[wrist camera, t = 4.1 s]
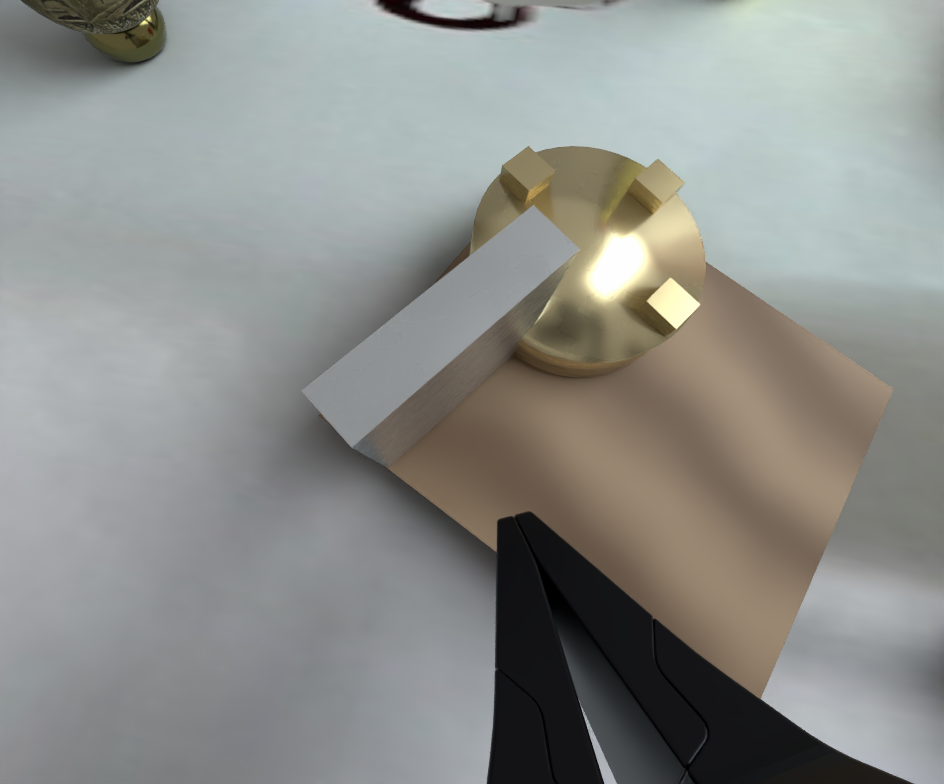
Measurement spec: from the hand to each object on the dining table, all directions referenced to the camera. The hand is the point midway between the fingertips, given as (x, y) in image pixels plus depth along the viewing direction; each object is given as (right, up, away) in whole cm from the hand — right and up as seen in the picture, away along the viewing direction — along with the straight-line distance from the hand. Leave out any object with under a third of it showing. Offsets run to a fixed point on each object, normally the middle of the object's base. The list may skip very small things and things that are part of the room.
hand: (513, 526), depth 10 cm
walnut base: (+5, +2, +9) cm, 10 cm away
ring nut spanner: (+1, +6, +7) cm, 9 cm away
